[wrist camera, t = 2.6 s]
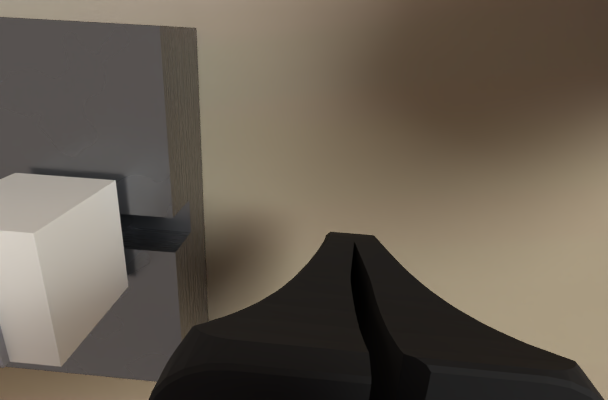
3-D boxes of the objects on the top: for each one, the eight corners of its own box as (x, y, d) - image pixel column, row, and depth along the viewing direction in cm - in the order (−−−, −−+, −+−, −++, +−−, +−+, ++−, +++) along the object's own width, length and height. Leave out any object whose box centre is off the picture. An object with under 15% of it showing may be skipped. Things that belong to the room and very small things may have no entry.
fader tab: (147, 263, 15) (56, 372, 10) (66, 255, 15) (-64, 360, 10) (138, 165, 13) (27, 237, 9) (48, 158, 14) (-111, 226, 9)
